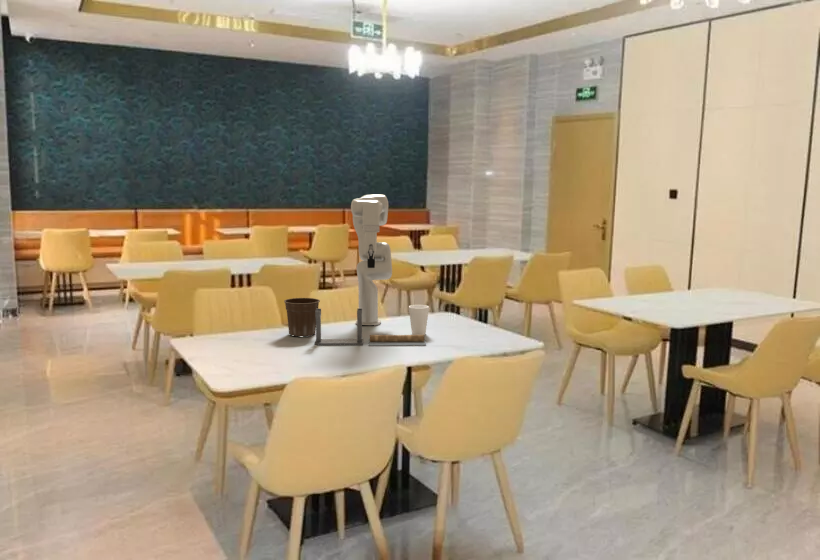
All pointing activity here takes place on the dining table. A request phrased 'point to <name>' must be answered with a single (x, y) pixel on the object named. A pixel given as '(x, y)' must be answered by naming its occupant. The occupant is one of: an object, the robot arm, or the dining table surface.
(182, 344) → the dining table surface
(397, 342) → the slate mat
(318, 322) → the cradle stands
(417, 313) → the foam cup
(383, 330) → the dining table surface
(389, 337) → the oak dowel
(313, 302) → the plant pot
